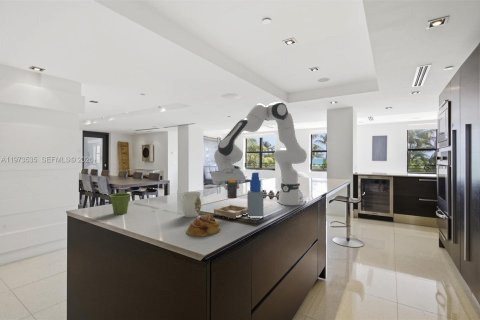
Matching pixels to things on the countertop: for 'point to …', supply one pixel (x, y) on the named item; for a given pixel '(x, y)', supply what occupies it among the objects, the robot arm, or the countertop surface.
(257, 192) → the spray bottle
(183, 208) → the pitcher
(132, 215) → the countertop surface
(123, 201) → the plant pot
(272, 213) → the countertop surface
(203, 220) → the pastry
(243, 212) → the birch tray
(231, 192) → the black shaker
